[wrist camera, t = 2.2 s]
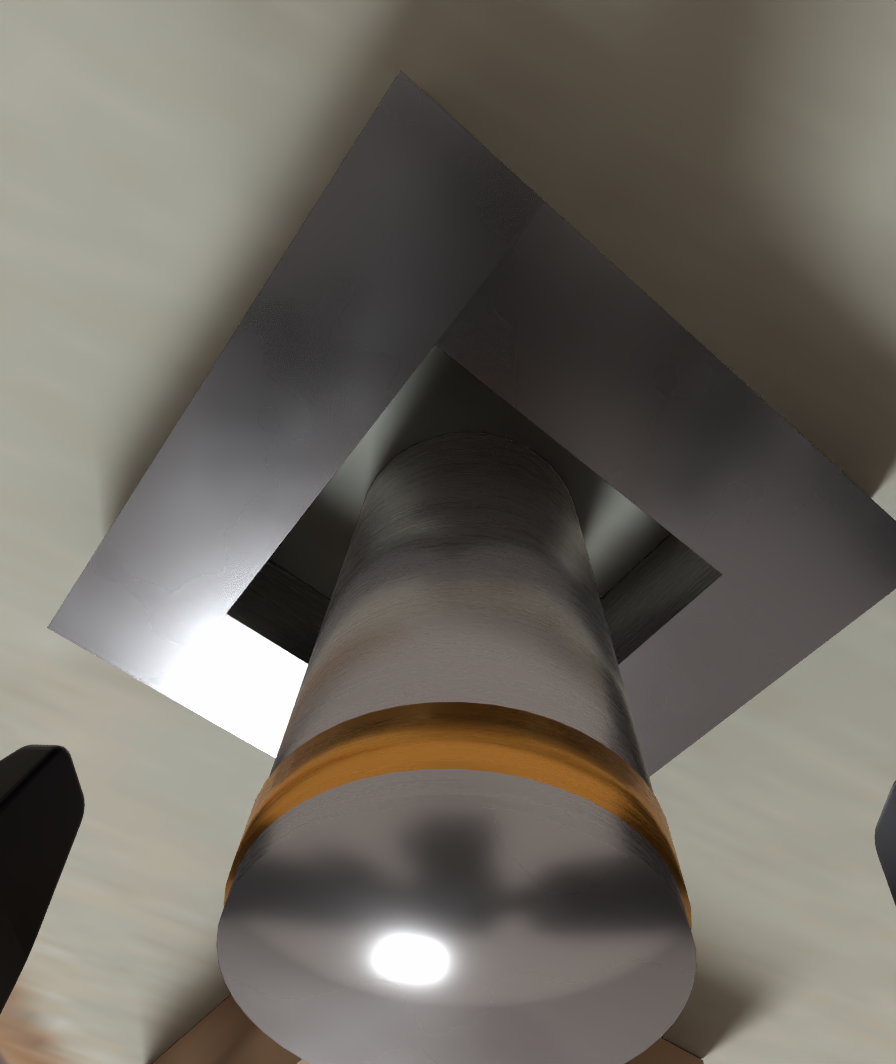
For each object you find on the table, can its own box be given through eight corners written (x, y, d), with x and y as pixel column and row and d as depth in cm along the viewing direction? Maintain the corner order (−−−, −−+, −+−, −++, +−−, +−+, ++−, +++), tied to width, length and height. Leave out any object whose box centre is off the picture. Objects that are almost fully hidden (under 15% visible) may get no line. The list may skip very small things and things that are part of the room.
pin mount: (415, 87, 10) (400, 70, 8) (871, 501, 12) (936, 557, 11) (103, 567, 14) (47, 627, 12) (500, 809, 16) (503, 888, 14)
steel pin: (449, 381, 12) (402, 709, 5) (628, 522, 13) (809, 963, 6) (315, 549, 13) (125, 984, 6) (483, 662, 14) (486, 1145, 7)
